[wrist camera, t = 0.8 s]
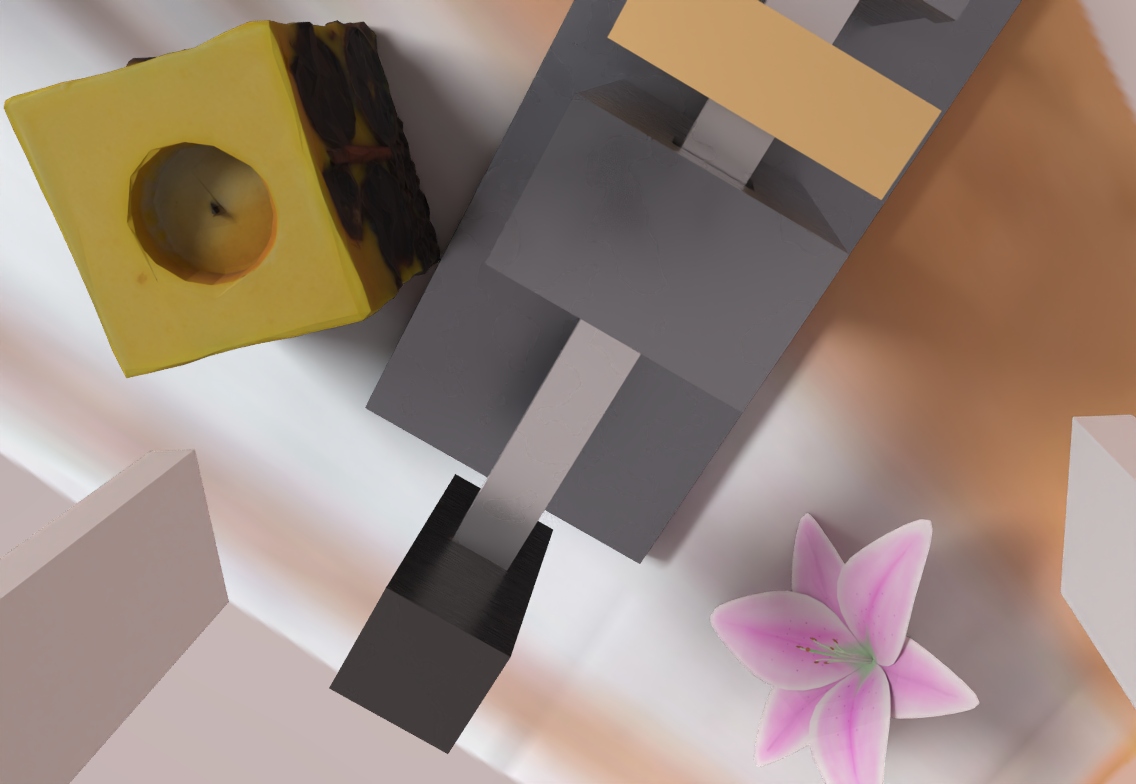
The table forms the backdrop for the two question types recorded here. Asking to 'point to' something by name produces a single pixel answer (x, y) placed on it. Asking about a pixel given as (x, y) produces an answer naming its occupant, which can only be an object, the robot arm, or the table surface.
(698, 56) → the tan rectangular block
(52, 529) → the robot arm
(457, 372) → the shaft stand
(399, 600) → the shaft
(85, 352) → the table surface
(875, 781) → the lily
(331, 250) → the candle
